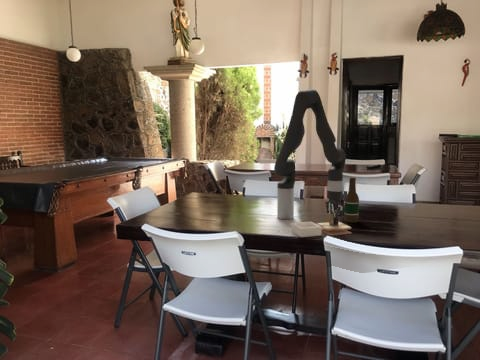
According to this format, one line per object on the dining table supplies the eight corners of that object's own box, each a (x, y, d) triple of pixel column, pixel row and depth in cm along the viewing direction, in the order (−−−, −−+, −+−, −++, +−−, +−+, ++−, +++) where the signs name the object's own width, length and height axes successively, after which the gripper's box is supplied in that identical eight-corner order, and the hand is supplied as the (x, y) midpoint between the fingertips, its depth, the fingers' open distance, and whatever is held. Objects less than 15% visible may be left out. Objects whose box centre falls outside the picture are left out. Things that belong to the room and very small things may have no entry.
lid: (316, 224, 193) (317, 211, 192) (337, 222, 197) (338, 209, 196) (329, 231, 182) (329, 217, 181) (351, 228, 186) (351, 215, 185)
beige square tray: (291, 232, 189) (291, 223, 188) (310, 230, 192) (311, 221, 191) (300, 238, 179) (301, 228, 178) (321, 236, 182) (321, 226, 181)
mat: (315, 228, 194) (316, 228, 194) (336, 226, 198) (336, 226, 198) (330, 236, 181) (330, 235, 181) (352, 233, 184) (352, 233, 184)
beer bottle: (356, 219, 212) (357, 176, 209) (360, 223, 204) (362, 178, 201) (342, 219, 212) (343, 176, 208) (346, 223, 204) (347, 178, 201)
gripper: (320, 187, 192) (319, 220, 195) (335, 192, 179) (334, 228, 182) (334, 186, 194) (333, 219, 197) (349, 191, 181) (348, 226, 184)
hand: (333, 223), depth 189 cm, fingers closed on lid, 3 cm apart
